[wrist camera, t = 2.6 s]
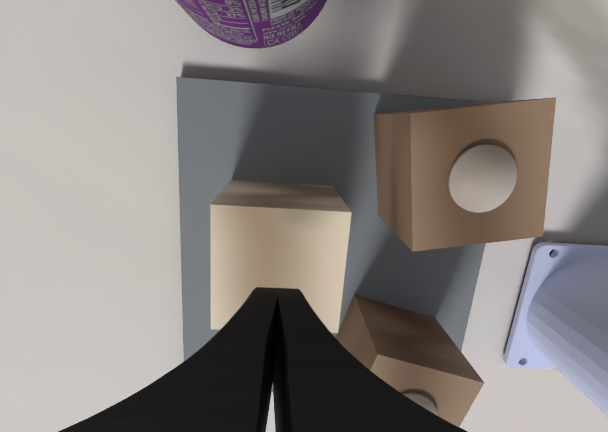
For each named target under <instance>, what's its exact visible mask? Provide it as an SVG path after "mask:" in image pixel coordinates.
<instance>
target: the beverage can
mask: <svg viewBox="0 0 608 432" xmlns="http://www.w3.org/2000/svg"><path fill="white" fill-rule="evenodd" d="M175 1H176V2H177V3H178V4H179V5H180V6H181V7H182V8H183V9H184V10H185V11H186V12H187V14H188V15H189V16H190V17H191V18H192V19H193V20H194V21H195V22H196V23H197V24H198V25H199V26H200V27H202V28H203V29H204V30H205V31H207V32H208V33H209V34H211V35H212V36H214V37H216V38H218V39H220V40H221V41H224V42H226V43H229V44H232V45H235V46H239V47H244V48H266V47H272V46H276V45H279V44H282V43H284V42H286V41H289V40H290V39H292V38H294V37H296V36H297V35H298V34H300V33H301V32H302V31H304V30H305V29H306V28H307V27H308V26H309V25H310V24H311V23H312V22H313V21H314V20H315V18H316V17H317V16H318V14H319V13H320V11H321V10H322V8H323V7H324V5H325V3H326V1H327V0H175Z"/></svg>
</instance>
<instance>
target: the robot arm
mask: <svg viewBox="0 0 608 432" xmlns="http://www.w3.org/2000/svg"><path fill="white" fill-rule="evenodd" d="M551 250H553V252H552V253H551V254H550V255H549V253H550V251H551ZM520 359H521V360H520ZM519 360H520V361H519ZM504 362H505V363H506V364H507V366H509V367H511V368H537V369H557V370H558V371H559V372H560V373H561V374H562V375H563V376H564V377H565V378H566V379H567V380H568V381H569V382H571V383H572V384H573V385H574V386H575V387H576V388H577V389H578V390H579V391H580V392H581V393H582V394H583V395H585V396H586V397H587V398H588V399H589V400H590V401H591V402H592V403H593V404H594V405H595V406H596V407H597V408H599V409H600V410H601V411H602V412H603V413H604V414H605V415H606V416H607V417H608V245H589V244H569V243H550V242H541V243H538V244H536V245H535V246H534V248H533V250H532V253H531V257H530V261H529V264H528V268H527V272H526V276H525V279H524V283H523V287H522V291H521V294H520V298H519V302H518V305H517V309H516V313H515V317H514V320H513V324H512V328H511V332H510V335H509V339H508V343H507V347H506V350H505V354H504ZM272 384H273V394H274V411H275V428H276V432H467V431H465V430H463V429H461V428H459V427H457V426H455V425H453V424H451V423H449V422H448V421H446V420H444V419H442V418H441V417H439V416H437V415H435V414H434V413H432V412H430V411H429V410H427V409H425V408H424V407H422V406H420V405H419V404H417V403H415V402H414V401H412V400H411V399H409V398H408V397H406V396H405V395H403V394H402V393H400V392H399V391H397V390H396V389H394V388H393V387H392V386H390V385H389V384H387V383H386V382H385V381H383V380H382V379H381V378H379V377H378V376H377V375H375V374H374V373H373V372H372V371H370V370H369V369H368V368H367V367H365V366H364V365H363V364H362V363H361V362H360V361H359V360H357V359H356V358H355V357H354V356H353V355H352V354H351V353H350V352H349V351H347V350H346V349H345V348H344V347H343V346H342V344H341V343H340V342H339V341H338V340H337V339H336V338H335V337H334V336H333V335H332V333H331V332H330V331H329V330H328V329H327V327H326V326H325V325H324V324H323V322H322V321H321V320H320V318H319V317H318V316H317V314H316V313H315V312H314V310H313V309H312V307H311V306H310V304H309V303H308V301H307V300H306V298H305V296H304V295H303V293H302V292H301V291H300V289H293V288H267V287H256V288H255V289H254V290H253V291H252V292H251V294H250V295H249V297H248V298H247V299H246V301H245V302H244V303H243V305H242V306H241V307H240V308H239V310H238V311H237V312H236V313H235V314H234V315H233V316H232V318H231V319H230V320H229V321H228V322H227V323H226V324H225V325H224V326H223V327H222V328H221V329H220V330H219V331H218V332H217V333H216V334H215V335H214V336H213V337H212V338H211V339H210V340H209V341H208V342H207V343H206V344H205V345H204V346H202V347H201V348H200V349H199V350H198V351H197V352H196V353H194V354H193V355H192V356H191V357H189V358H188V359H187V360H186V361H184V362H183V363H182V364H180V365H179V366H177V367H176V368H174V369H173V370H171V371H170V372H168V373H167V374H165V375H164V376H162V377H161V378H159V379H158V380H156V381H155V382H153V383H152V384H150V385H149V386H147V387H145V388H144V389H142V390H140V391H138V392H137V393H135V394H133V395H131V396H130V397H128V398H126V399H124V400H122V401H121V402H119V403H117V404H115V405H113V406H111V407H109V408H107V409H105V410H104V411H102V412H100V413H98V414H96V415H94V416H92V417H90V418H88V419H85V420H83V421H81V422H79V423H77V424H74V425H72V426H70V427H68V428H65V429H63V430H61V431H59V432H265V431H266V424H267V417H268V411H269V404H270V397H271V390H272Z"/></svg>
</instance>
